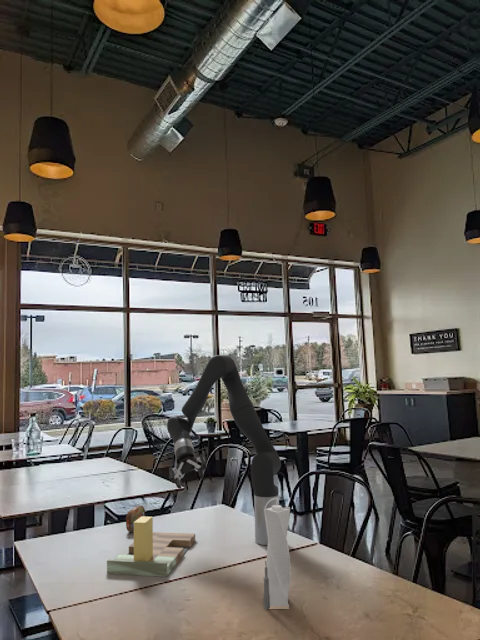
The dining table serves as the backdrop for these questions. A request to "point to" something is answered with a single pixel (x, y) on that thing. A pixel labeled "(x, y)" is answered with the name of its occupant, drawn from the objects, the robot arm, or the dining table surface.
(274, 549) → the skyscraper
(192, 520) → the dining table surface
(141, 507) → the tin
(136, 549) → the block
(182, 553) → the board
